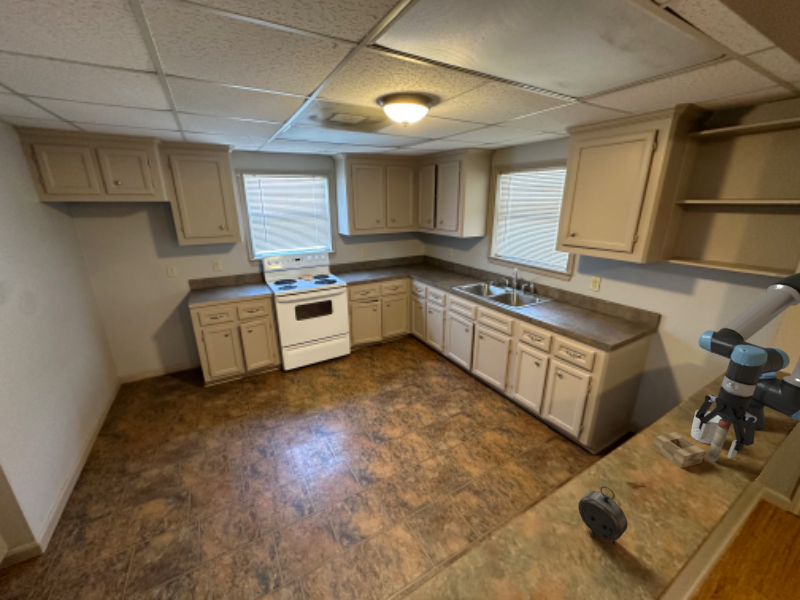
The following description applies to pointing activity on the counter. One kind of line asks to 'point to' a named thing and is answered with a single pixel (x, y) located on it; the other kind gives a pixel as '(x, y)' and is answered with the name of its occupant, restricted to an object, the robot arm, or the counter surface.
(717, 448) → the brown-tipped rod
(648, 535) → the counter surface
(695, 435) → the white cup
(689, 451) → the bead block
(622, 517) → the alarm clock
